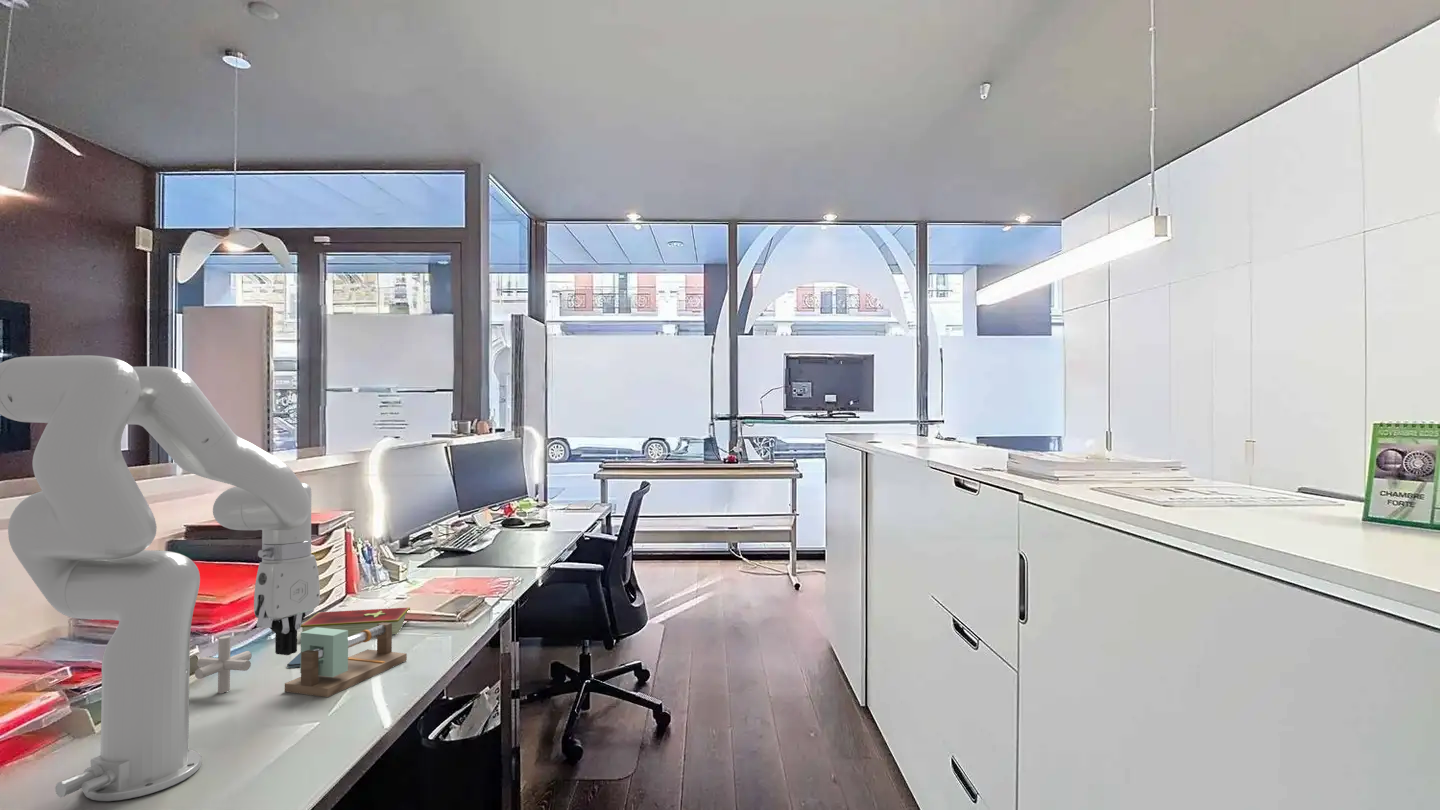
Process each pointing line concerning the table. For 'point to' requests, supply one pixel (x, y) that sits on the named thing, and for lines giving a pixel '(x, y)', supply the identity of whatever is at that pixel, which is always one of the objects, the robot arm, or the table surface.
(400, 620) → the hardcover book
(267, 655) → the table surface
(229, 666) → the pipe connector
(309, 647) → the collar
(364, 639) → the rod stand
